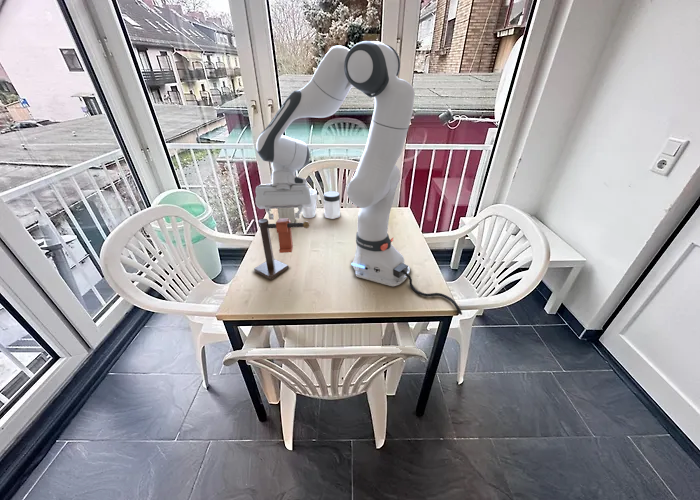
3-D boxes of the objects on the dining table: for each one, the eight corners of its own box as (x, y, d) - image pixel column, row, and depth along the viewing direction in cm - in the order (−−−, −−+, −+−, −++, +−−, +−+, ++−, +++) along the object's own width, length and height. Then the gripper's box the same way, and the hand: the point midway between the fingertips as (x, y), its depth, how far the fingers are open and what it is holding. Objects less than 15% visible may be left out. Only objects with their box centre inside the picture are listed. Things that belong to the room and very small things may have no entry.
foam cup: (317, 219, 147) (316, 195, 140) (299, 219, 146) (297, 195, 139) (318, 211, 155) (317, 188, 148) (301, 211, 154) (299, 188, 147)
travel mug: (297, 218, 147) (293, 185, 137) (293, 225, 140) (289, 191, 131) (282, 217, 148) (277, 184, 138) (277, 224, 141) (272, 190, 131)
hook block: (281, 248, 108) (278, 217, 104) (293, 248, 108) (290, 217, 104) (278, 256, 100) (274, 222, 96) (290, 255, 101) (287, 222, 97)
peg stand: (251, 281, 104) (240, 230, 92) (257, 261, 114) (248, 213, 103) (312, 278, 106) (308, 227, 94) (313, 258, 116) (309, 211, 105)
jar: (334, 210, 156) (334, 189, 149) (343, 215, 150) (343, 194, 144) (320, 215, 151) (319, 193, 144) (329, 220, 146) (329, 198, 139)
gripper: (253, 180, 103) (253, 216, 100) (310, 179, 105) (311, 214, 102) (257, 188, 109) (257, 222, 106) (311, 186, 111) (312, 220, 108)
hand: (284, 218), depth 104 cm, fingers open, 8 cm apart
